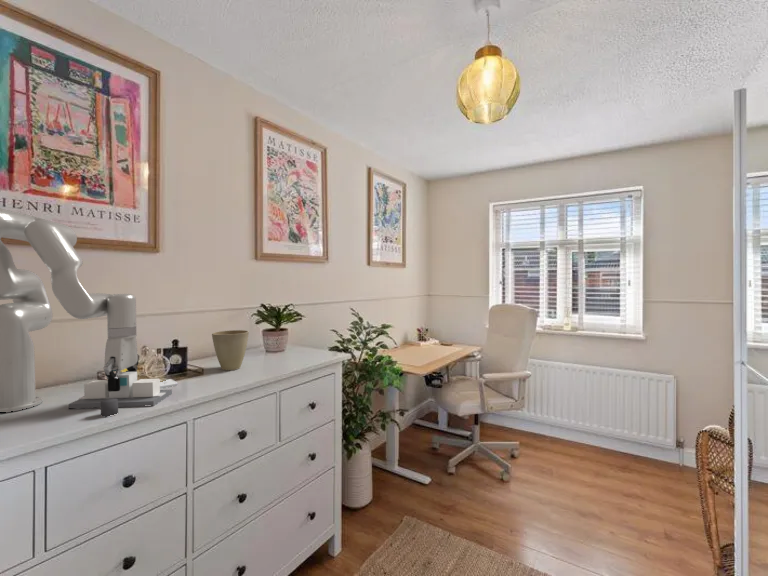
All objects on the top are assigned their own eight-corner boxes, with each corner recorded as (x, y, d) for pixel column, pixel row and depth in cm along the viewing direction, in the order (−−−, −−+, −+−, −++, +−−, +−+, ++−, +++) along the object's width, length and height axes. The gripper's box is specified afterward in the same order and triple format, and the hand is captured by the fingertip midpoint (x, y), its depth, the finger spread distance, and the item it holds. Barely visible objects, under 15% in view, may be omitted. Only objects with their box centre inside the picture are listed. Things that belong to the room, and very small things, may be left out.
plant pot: (255, 364, 167) (254, 330, 166) (238, 373, 152) (238, 334, 152) (223, 364, 168) (223, 329, 168) (204, 372, 154) (204, 334, 153)
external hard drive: (132, 389, 131) (170, 382, 140) (138, 394, 125) (178, 386, 134) (131, 385, 131) (170, 378, 140) (138, 389, 125) (178, 382, 134)
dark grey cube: (97, 417, 103) (97, 403, 103) (106, 412, 107) (106, 398, 107) (112, 416, 104) (112, 402, 104) (121, 411, 108) (121, 398, 108)
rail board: (68, 409, 110) (68, 388, 110) (95, 396, 122) (95, 377, 122) (153, 406, 112) (153, 385, 112) (171, 393, 124) (171, 375, 124)
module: (108, 398, 114) (108, 375, 114) (117, 393, 119) (117, 372, 119) (128, 397, 115) (128, 375, 115) (137, 392, 120) (137, 371, 120)
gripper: (125, 329, 125) (126, 379, 125) (90, 337, 108) (91, 395, 108) (149, 328, 126) (149, 379, 126) (118, 336, 108) (119, 394, 109)
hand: (123, 386), depth 117 cm, fingers open, 8 cm apart
